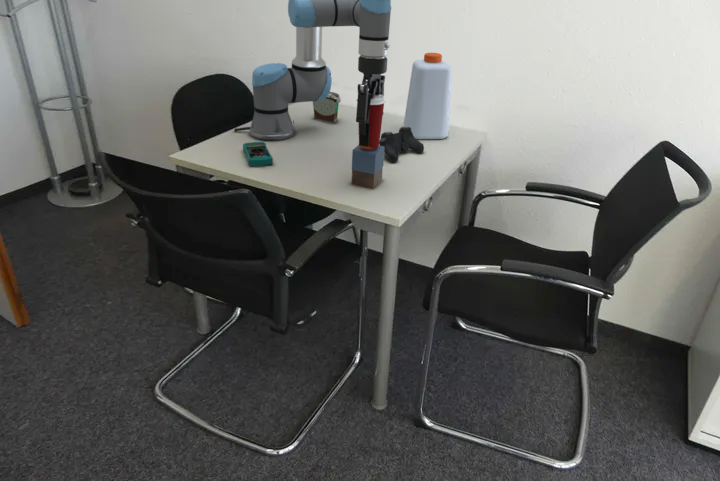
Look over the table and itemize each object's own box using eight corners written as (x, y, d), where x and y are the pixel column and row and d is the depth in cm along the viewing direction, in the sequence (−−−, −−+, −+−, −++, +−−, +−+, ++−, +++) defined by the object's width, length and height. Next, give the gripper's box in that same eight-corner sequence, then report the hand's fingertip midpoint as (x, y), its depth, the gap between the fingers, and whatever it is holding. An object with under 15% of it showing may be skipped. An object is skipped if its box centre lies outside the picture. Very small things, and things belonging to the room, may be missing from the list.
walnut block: (351, 184, 152) (351, 169, 149) (360, 175, 157) (361, 161, 155) (373, 188, 149) (374, 174, 147) (381, 180, 155) (382, 166, 153)
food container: (346, 120, 203) (347, 94, 198) (337, 124, 198) (338, 98, 193) (320, 114, 208) (320, 89, 203) (311, 118, 204) (311, 92, 199)
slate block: (351, 169, 149) (352, 149, 146) (361, 161, 155) (362, 142, 152) (374, 174, 147) (375, 154, 144) (383, 166, 153) (384, 146, 150)
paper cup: (383, 142, 151) (386, 93, 144) (381, 151, 144) (384, 100, 137) (356, 140, 151) (358, 91, 144) (353, 149, 145) (355, 98, 138)
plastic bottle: (440, 126, 201) (449, 50, 187) (450, 140, 188) (461, 59, 174) (401, 126, 199) (407, 49, 185) (409, 140, 186) (416, 58, 172)
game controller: (412, 155, 181) (404, 126, 179) (426, 151, 176) (418, 122, 174) (379, 166, 171) (370, 136, 169) (393, 162, 166) (384, 131, 164)
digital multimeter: (249, 167, 159) (248, 158, 158) (242, 150, 171) (242, 141, 170) (273, 165, 161) (273, 156, 160) (265, 149, 173) (265, 140, 172)
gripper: (372, 64, 126) (367, 155, 138) (399, 51, 142) (393, 133, 154) (343, 61, 129) (342, 150, 140) (373, 48, 144) (369, 129, 156)
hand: (368, 141), depth 147 cm, fingers closed on paper cup, 6 cm apart
